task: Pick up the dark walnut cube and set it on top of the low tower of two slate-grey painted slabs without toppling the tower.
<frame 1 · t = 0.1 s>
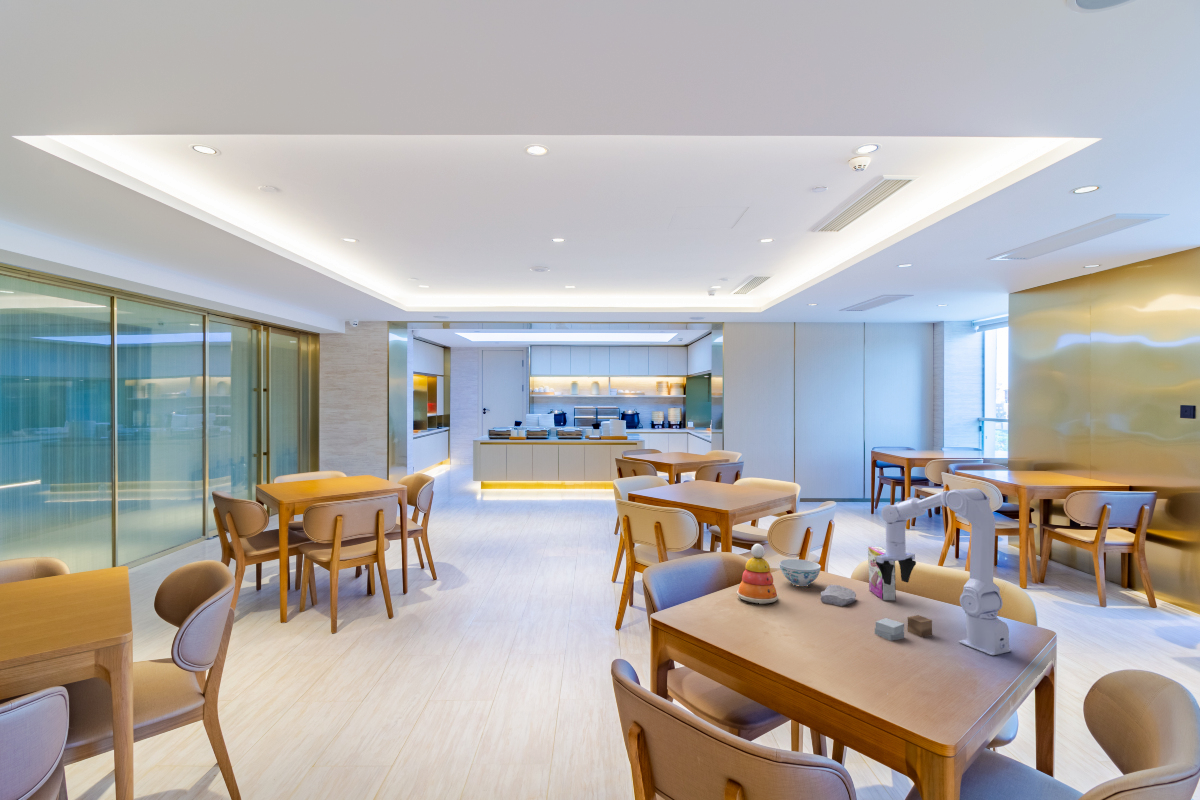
hand: (896, 582, 181), 10 cm above the table, fingers open, 7 cm apart
walnut cube: (919, 633, 164), on the table
candy bar box: (881, 596, 198), on the table
chinaware: (799, 584, 212), on the table
tower base: (889, 637, 162), on the table, touching tower top
stacking toy: (757, 599, 195), on the table
stone block: (839, 602, 193), on the table
tower top: (889, 630, 162), point 2 cm above the table, touching tower base
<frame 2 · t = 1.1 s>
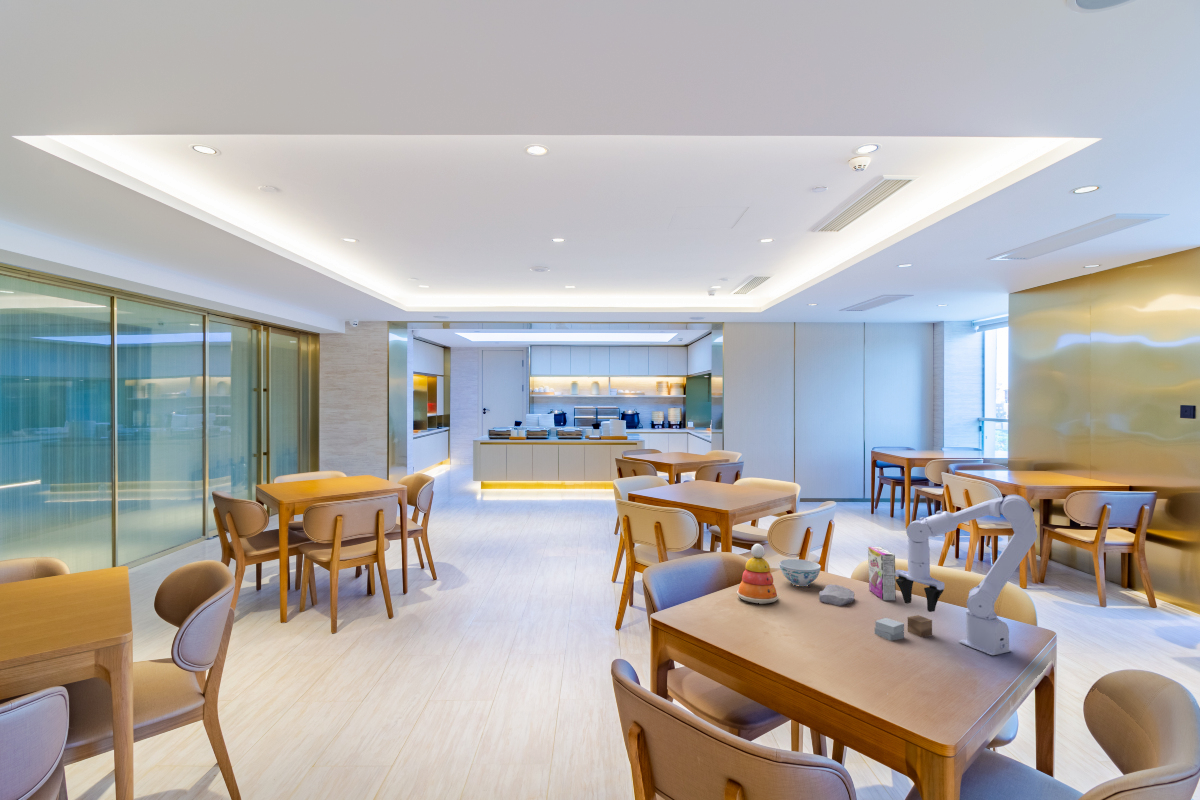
hand: (919, 607, 164), 8 cm above the table, fingers open, 7 cm apart
tower base: (889, 637, 162), on the table
tower top: (889, 629, 162), point 2 cm above the table
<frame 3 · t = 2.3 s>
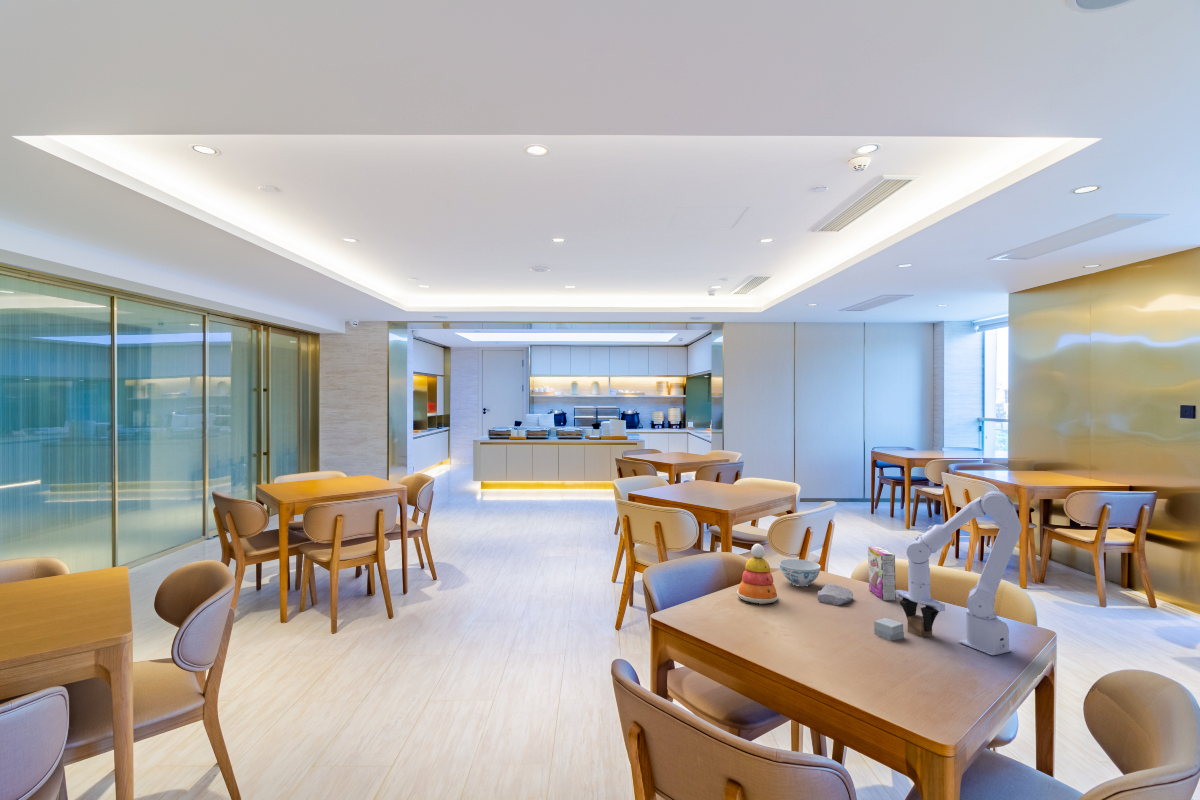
hand: (919, 627, 164), 2 cm above the table, fingers closed on walnut cube, 4 cm apart
walnut cube: (919, 633, 164), on the table, touching gripper
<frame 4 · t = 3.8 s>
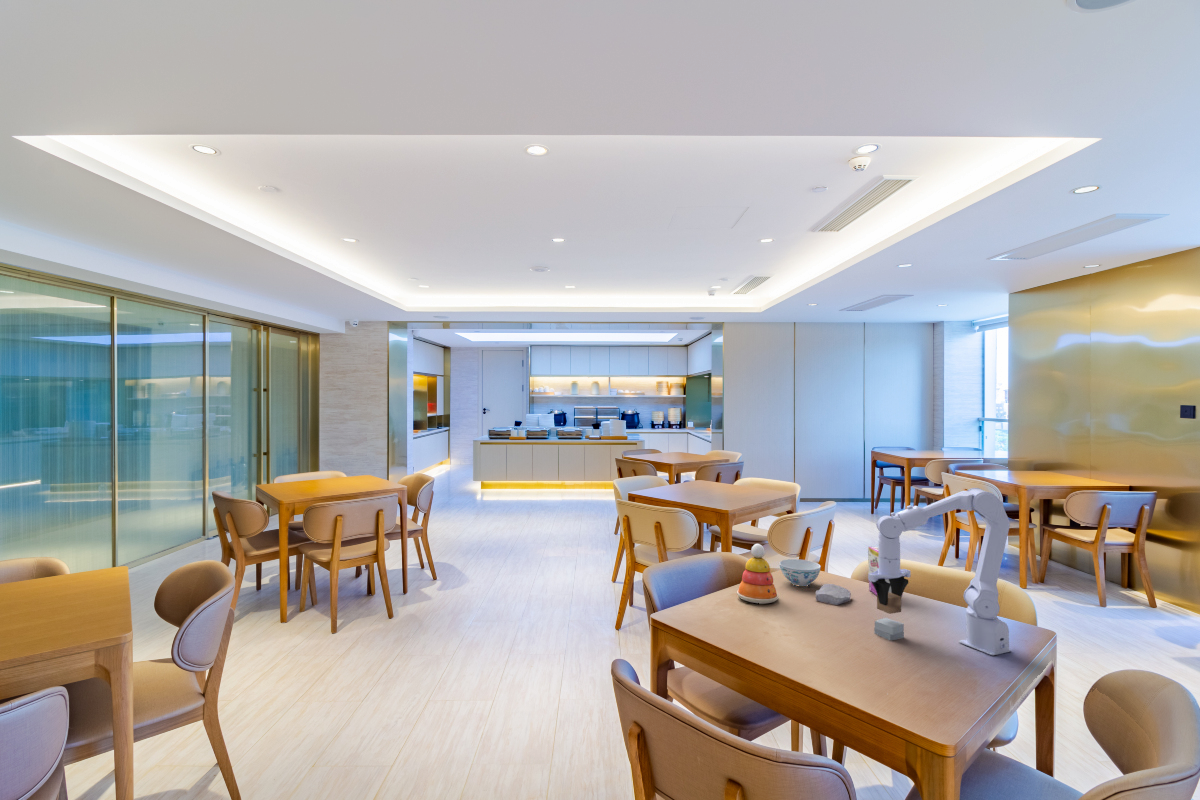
hand: (889, 603, 163), 9 cm above the table, fingers closed on walnut cube, 4 cm apart
walnut cube: (889, 610, 163), point 7 cm above the table, touching gripper
when the fingers open (7 cm above the table, at t = 4.8 s): walnut cube stays where it is, resting on tower top.
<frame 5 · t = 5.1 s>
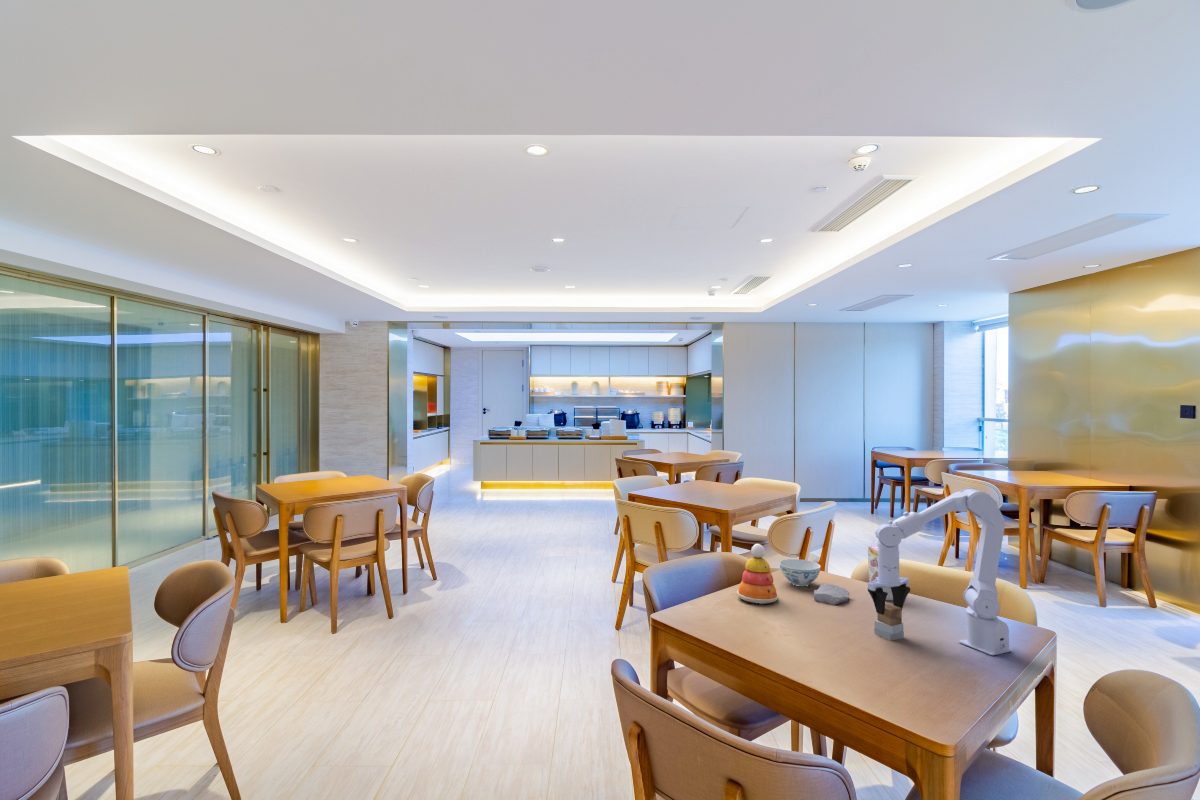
hand: (889, 611, 162), 7 cm above the table, fingers open, 7 cm apart
walnut cube: (889, 621, 162), point 4 cm above the table, touching tower top
tower base: (889, 636, 162), on the table, touching tower top
tower top: (888, 629, 162), point 2 cm above the table, touching tower base, walnut cube
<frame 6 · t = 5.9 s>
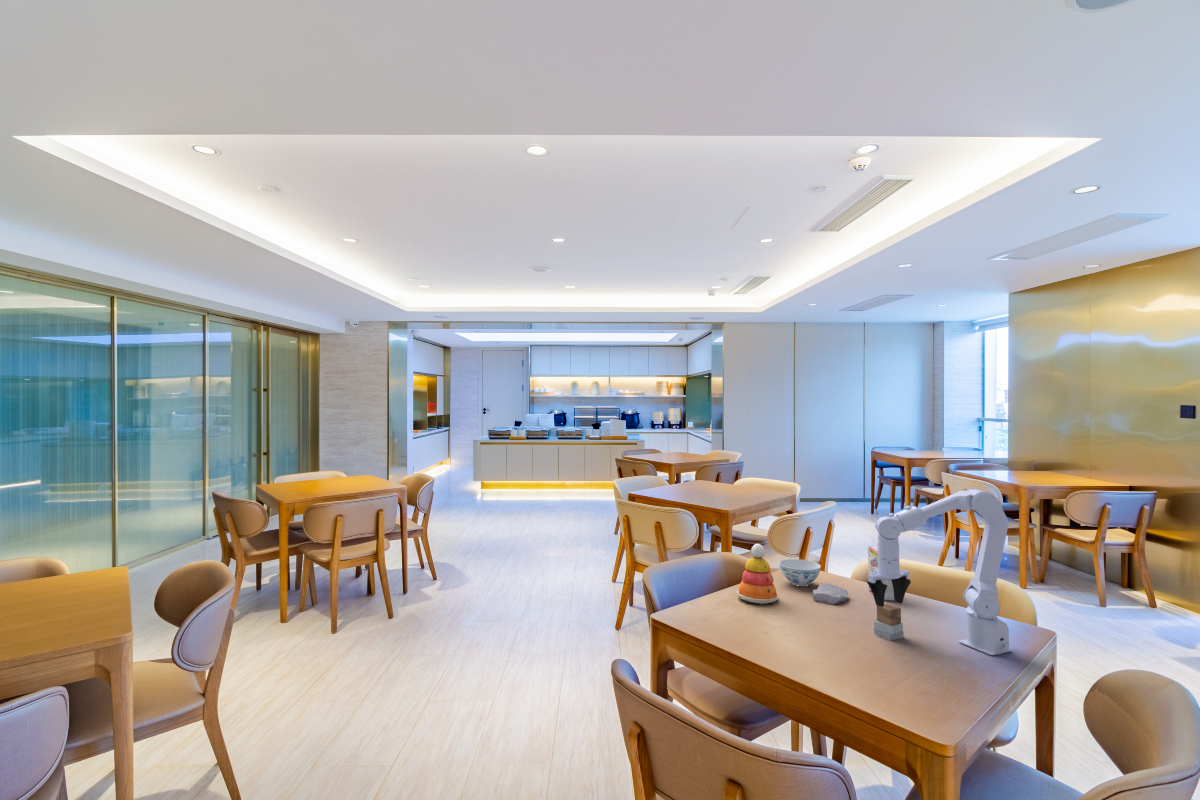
hand: (889, 604, 163), 9 cm above the table, fingers open, 7 cm apart
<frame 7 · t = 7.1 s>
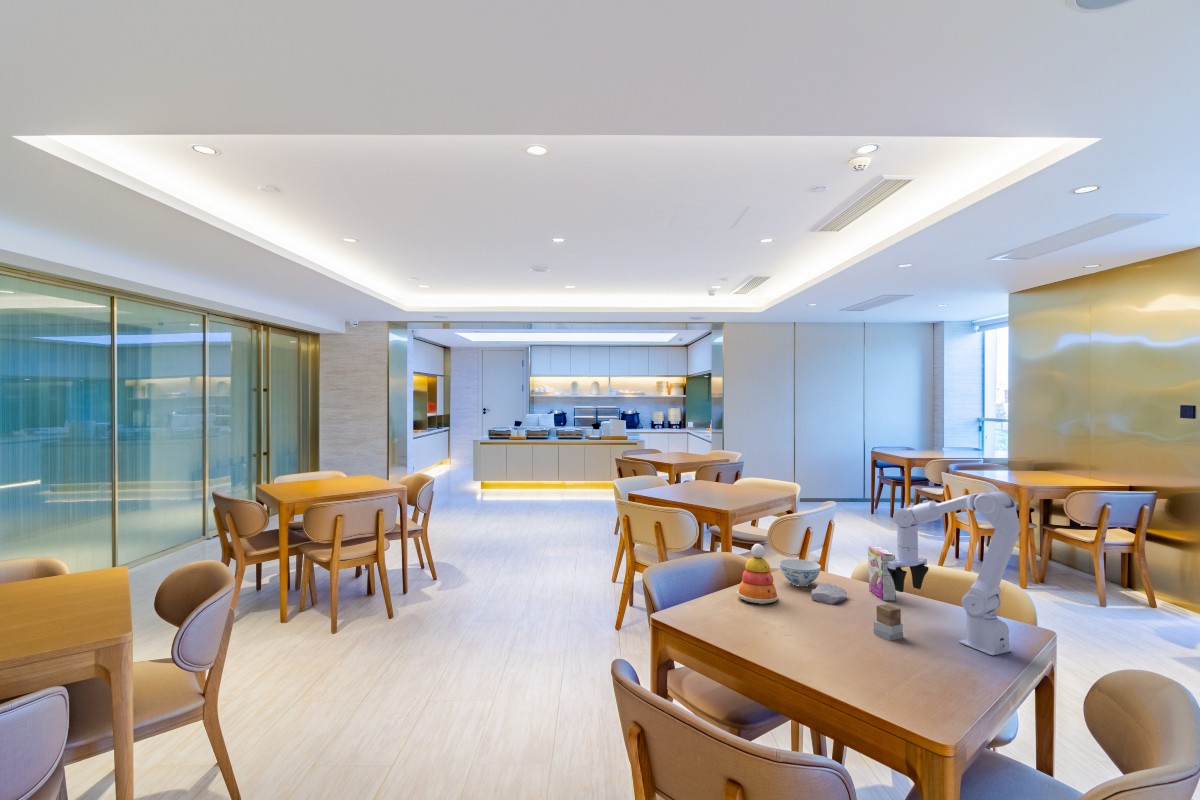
hand: (908, 589, 172), 10 cm above the table, fingers open, 7 cm apart
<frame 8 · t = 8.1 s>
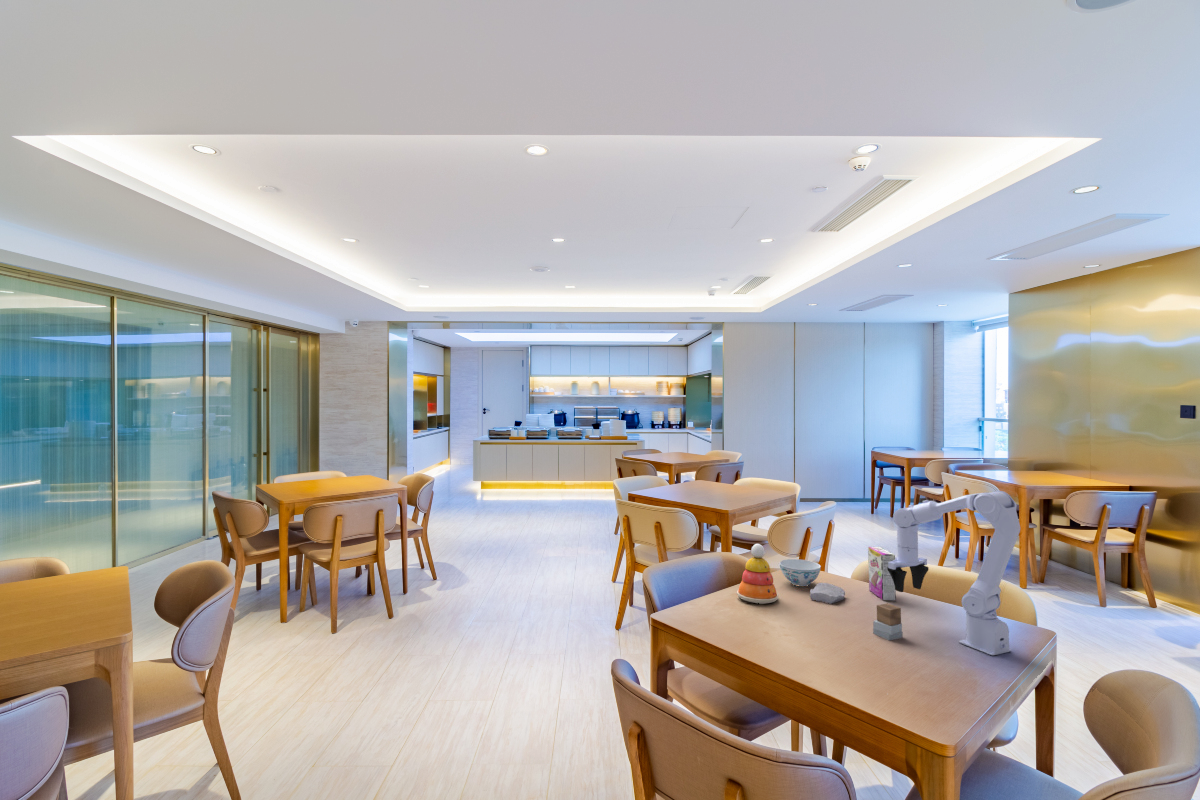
hand: (908, 589, 172), 10 cm above the table, fingers open, 7 cm apart
walnut cube: (888, 621, 163), point 4 cm above the table
tower top: (887, 629, 163), point 2 cm above the table, touching tower base
at the end: walnut cube 0.4 cm off-centre on the tower top, point 2.2 cm above the tower top's base; tower top 0.0 cm off-centre on the tower base, point 2.2 cm above the tower base's base; walnut cube tilted 1° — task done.
